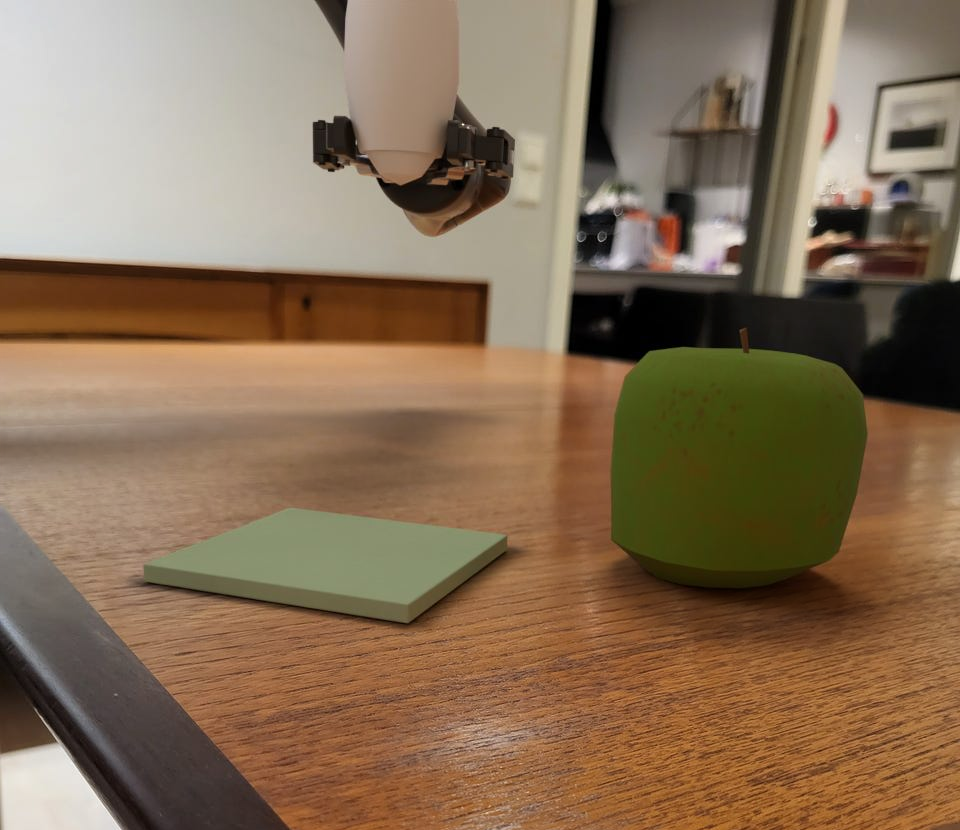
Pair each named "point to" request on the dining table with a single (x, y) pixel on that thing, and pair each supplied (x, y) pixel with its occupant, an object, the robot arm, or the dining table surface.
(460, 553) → the drink mat
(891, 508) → the dining table surface
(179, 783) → the dining table surface
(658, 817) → the dining table surface
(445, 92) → the white rounded shell
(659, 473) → the apple
